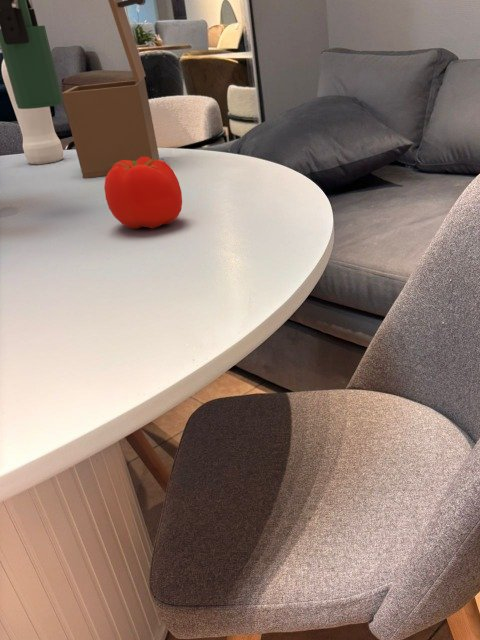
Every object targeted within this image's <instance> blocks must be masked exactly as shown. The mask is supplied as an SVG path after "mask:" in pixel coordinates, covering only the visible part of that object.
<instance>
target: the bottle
mask: <svg viewBox="0 0 480 640" xmlns="http://www.w3.org/2000/svg"><path fill="white" fill-rule="evenodd" d="M0 29H1V28H0ZM0 71H1V76H2V79H3V83H4V85H5V88H6V92H7V94H8V97H9V100H10V102H11V105H12V108H13V111H14V114H15V117H16V120H17V123H18V125H19V129H20V132H21V135H22V150H23V153H24V157H25V158H26V161H27V162H28V163H29V164H30V165H45V164H52V163H57V162H60V161H62V160H63V159H64V149H63V145H62V142H61V140H60V138H59V137H58V135H57V133H56V130H55V126H54V122H53V118H52V112H51V106H50V107H42V108H32V109H19V108H18V106H17V104H16V101H15V97H14V93H13V90H12V86H11V83H10V79H9V75H8V72H7V68H6V65H5V61H4V58H3V59H2V61H1V70H0Z"/></svg>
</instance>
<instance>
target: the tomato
mask: <svg viewBox="0 0 480 640" xmlns="http://www.w3.org/2000/svg"><path fill="white" fill-rule="evenodd" d="M154 160H157V159H150V158H148V157H140V158H139V159H138V160H137V161H136V162H135V161H129V160H121V161H119V162H117V163H116V164H115V163H114V164H115V165H114V166H113V167H112V169H111V170H110V171H109V172H108V174H107V176H105V177H104V187H103V188H104V194H105V195H104V196H105V201H106V203H107V206H108V209H109V210H110V212H111V214H112V215H113V217H114V218H115V219H116V220H117V221H118V222H119V223H120V224H122V225H124V226H126V227H127V228H129V229H141V228H143V227H144V228H150V229H156V228H158V227H161V226H162V225H169V224H171V223H173V222H174V221H175V220H177V218H178V217H179V216H180V213H181V212H182V206H183V193H182V189H181V186H180V182H179V179H178V177H177V176H176V174H175V172H174V170H173V169H172V168H171V166H170V165H169V164H168V163H167V162H166V161H164V160H161V159H158V160H157V161H154ZM112 165H113V164H112ZM110 166H111V165H110Z"/></svg>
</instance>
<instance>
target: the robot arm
mask: <svg viewBox="0 0 480 640" xmlns="http://www.w3.org/2000/svg"><path fill="white" fill-rule="evenodd" d="M26 2H27V6H28V10H29V14H30V18H31V22H32V26H39V24H38V20H37V16H36V15H37V14H36V11H35V8H34V4H33V1H32V0H26ZM0 28H1V31H2V35H3V38H4V42H5V44H7V45H11V44H22V43H28V42H29V36H28V33H27V29H26V25H25V21H24V17H23V13H22V9H18V3H17V0H0Z"/></svg>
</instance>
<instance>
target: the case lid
mask: <svg viewBox="0 0 480 640" xmlns="http://www.w3.org/2000/svg"><path fill="white" fill-rule="evenodd" d="M146 1H147V0H108V4H109V7H110V10H111V13H112V16H113V19H114V22H115V25H116V28H117V31H118V35H119V37H120V40H121V44H122V47H123V49H124V53H125V55H126V58H127V61H128V64H129V67H130V70H131V74H132V76H133V80H135V83H137V82H140V81H141V80H142V79H145V77H146V76H147V75H146V71H145V69H144V65H143V63H142V59H141V56H140V53H139V50H138V47H137V43H136V40H135V37H134V34H133V31H132V28H131V24H130V21H129V17H128V15H127V12H126V9H125V8H126V7H129V6H133V5H139V6H144V5H145V4H146Z"/></svg>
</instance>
